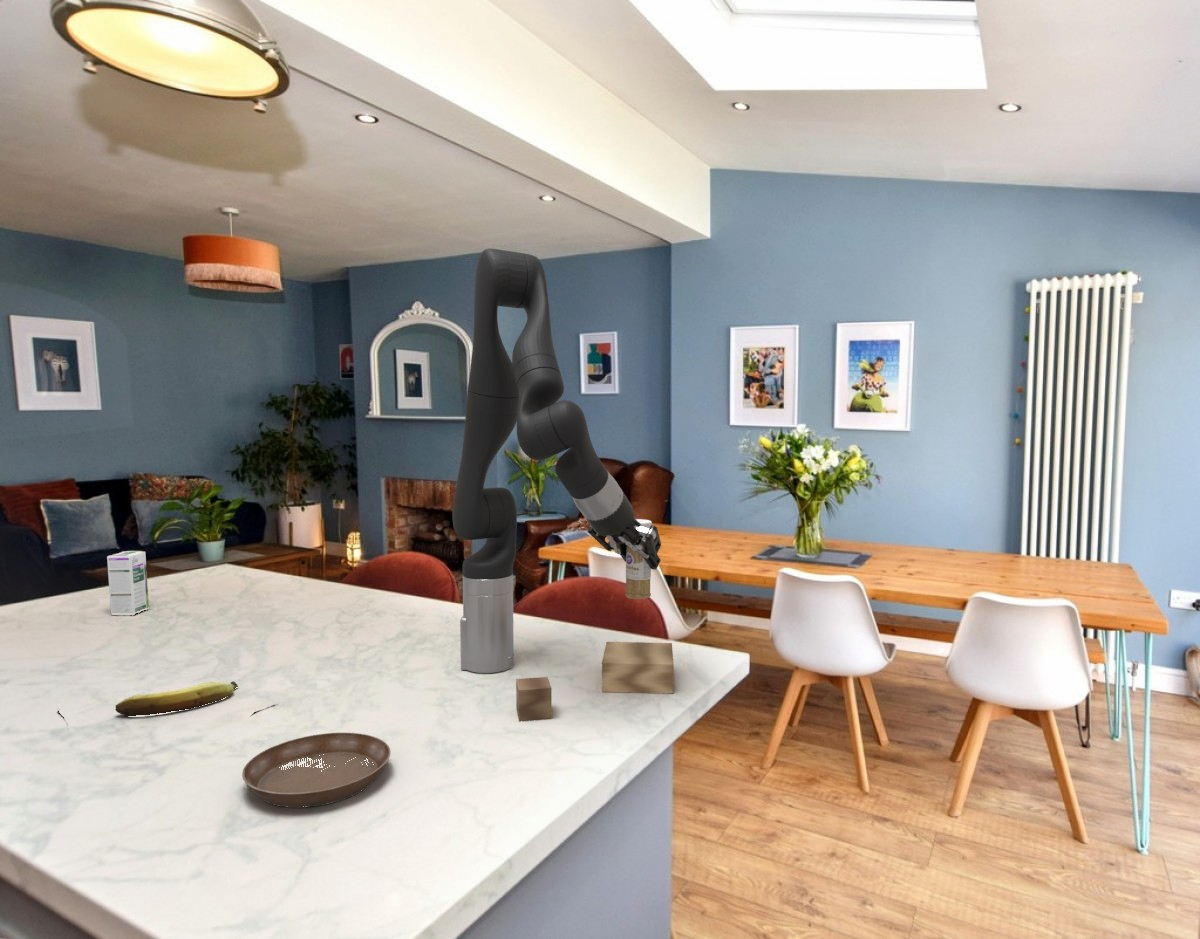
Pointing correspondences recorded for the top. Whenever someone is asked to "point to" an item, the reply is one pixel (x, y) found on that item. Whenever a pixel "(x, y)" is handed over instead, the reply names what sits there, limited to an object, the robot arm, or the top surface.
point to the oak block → (638, 667)
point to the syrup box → (128, 582)
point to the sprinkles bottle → (637, 571)
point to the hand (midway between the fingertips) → (644, 563)
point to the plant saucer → (316, 769)
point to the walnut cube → (533, 699)
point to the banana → (175, 699)
